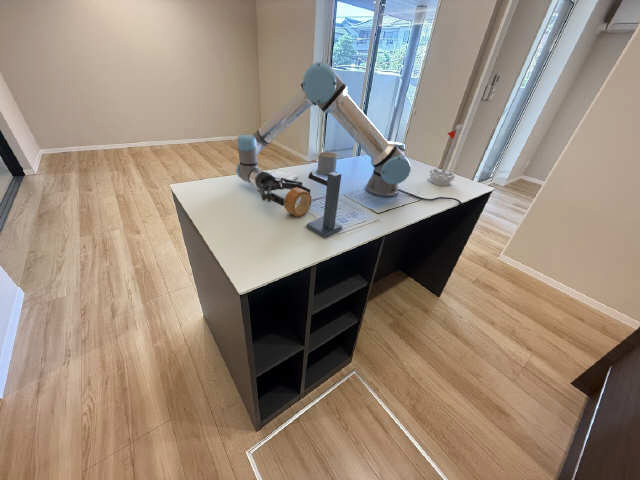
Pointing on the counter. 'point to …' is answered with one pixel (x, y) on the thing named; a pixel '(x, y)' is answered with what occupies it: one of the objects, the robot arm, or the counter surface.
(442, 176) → the flag stand
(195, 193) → the counter surface
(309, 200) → the tape roll
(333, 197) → the hook stand
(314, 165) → the counter surface
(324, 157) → the coffee mug
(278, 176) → the hard drive
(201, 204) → the counter surface
